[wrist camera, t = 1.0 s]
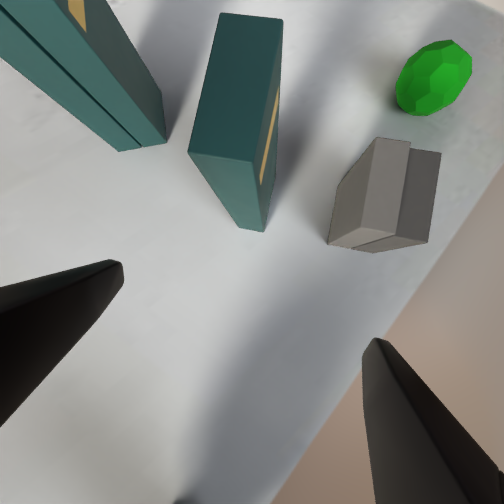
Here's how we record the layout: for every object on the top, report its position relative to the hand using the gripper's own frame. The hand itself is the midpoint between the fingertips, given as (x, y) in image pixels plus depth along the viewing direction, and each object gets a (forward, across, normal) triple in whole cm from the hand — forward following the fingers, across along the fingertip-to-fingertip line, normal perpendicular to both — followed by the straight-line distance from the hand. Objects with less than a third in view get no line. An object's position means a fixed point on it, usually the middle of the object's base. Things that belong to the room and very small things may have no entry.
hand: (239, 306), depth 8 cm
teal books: (+18, +16, -3) cm, 24 cm away
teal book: (+15, +2, +1) cm, 16 cm away
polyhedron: (+23, -9, -9) cm, 26 cm away
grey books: (+16, -7, +1) cm, 17 cm away
